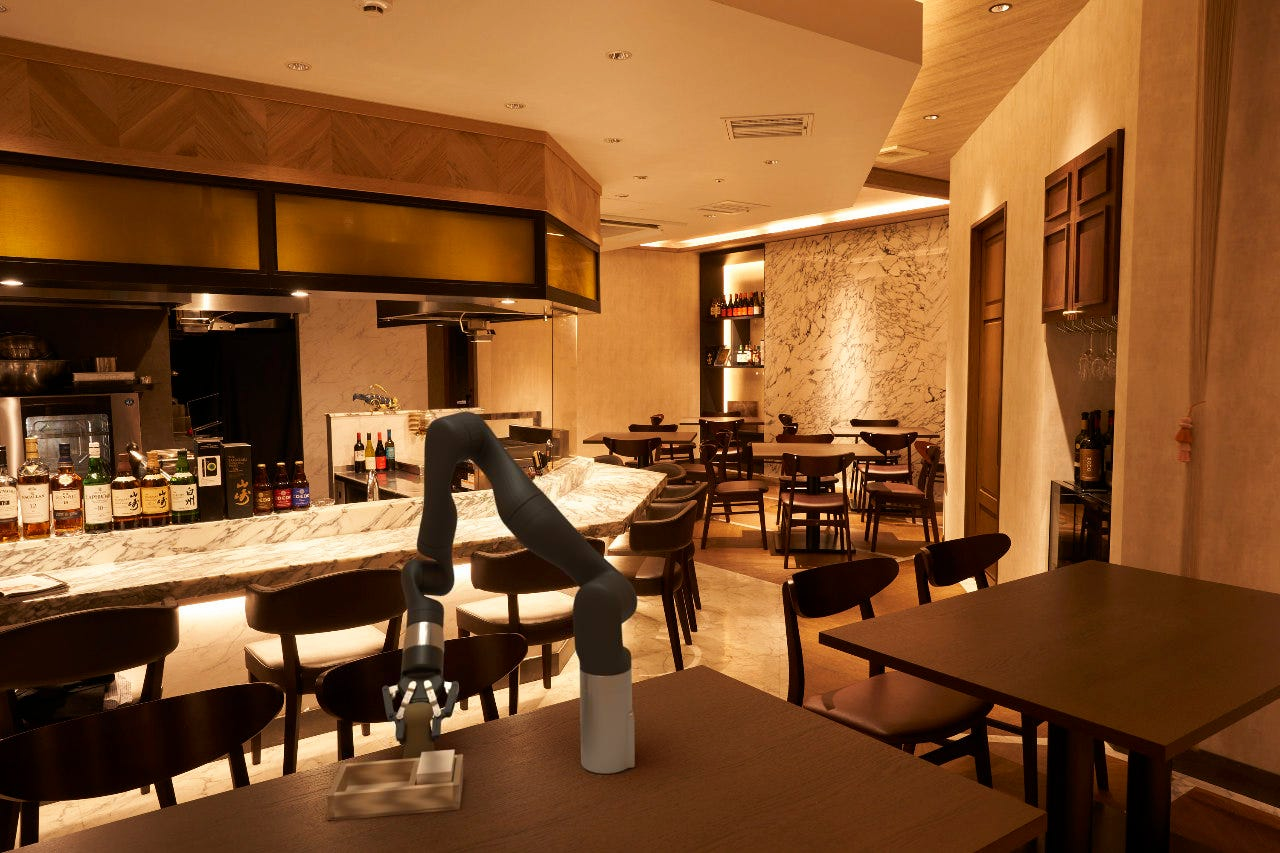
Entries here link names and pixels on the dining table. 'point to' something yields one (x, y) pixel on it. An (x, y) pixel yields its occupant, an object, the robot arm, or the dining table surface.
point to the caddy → (397, 786)
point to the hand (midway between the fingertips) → (417, 741)
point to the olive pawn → (418, 730)
